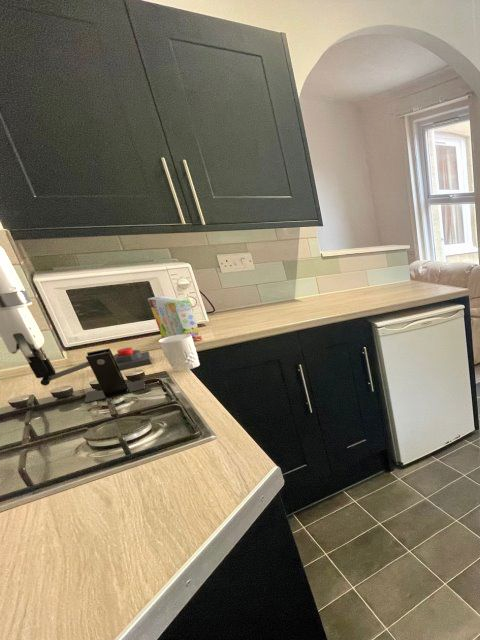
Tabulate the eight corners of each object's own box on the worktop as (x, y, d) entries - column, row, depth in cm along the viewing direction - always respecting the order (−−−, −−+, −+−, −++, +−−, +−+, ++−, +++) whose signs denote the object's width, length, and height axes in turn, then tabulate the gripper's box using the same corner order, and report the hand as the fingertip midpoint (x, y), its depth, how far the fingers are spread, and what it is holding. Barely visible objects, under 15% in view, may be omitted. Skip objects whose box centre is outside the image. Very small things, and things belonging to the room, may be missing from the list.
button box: (110, 374, 126) (104, 361, 124) (111, 365, 133) (105, 354, 131) (152, 365, 132) (147, 353, 130) (150, 357, 139) (146, 346, 137)
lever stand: (86, 407, 105) (63, 363, 100) (88, 396, 111) (67, 354, 106) (147, 392, 112) (128, 350, 107) (146, 382, 118) (128, 343, 113)
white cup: (187, 375, 122) (174, 342, 118) (164, 374, 123) (151, 342, 119) (209, 365, 129) (197, 334, 125) (187, 364, 131) (175, 333, 126)
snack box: (204, 339, 156) (189, 299, 149) (187, 343, 151) (171, 302, 145) (177, 332, 166) (162, 294, 160) (160, 336, 161) (144, 298, 155)
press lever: (45, 388, 100) (37, 379, 99) (48, 381, 104) (40, 373, 103) (110, 363, 106) (104, 355, 105) (111, 357, 111) (105, 350, 109)
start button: (119, 357, 128) (116, 352, 128) (119, 354, 131) (117, 349, 130) (134, 354, 130) (132, 349, 130) (134, 352, 133) (131, 346, 132)
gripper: (-12, 299, 97) (29, 372, 105) (-29, 309, 87) (18, 389, 94) (34, 293, 102) (70, 364, 109) (23, 302, 91) (64, 379, 99)
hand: (46, 375), depth 102 cm, fingers closed
